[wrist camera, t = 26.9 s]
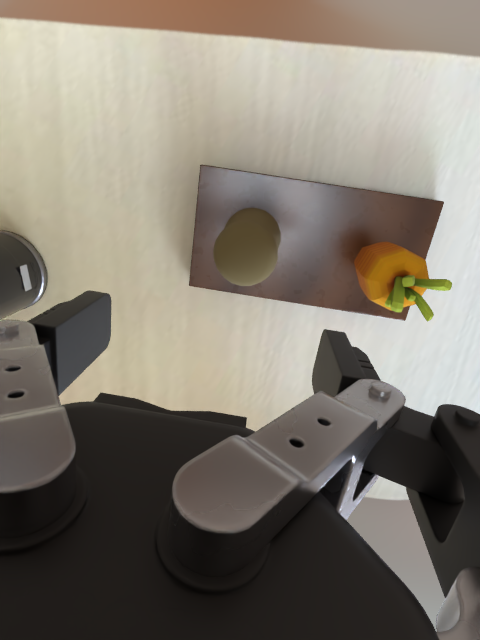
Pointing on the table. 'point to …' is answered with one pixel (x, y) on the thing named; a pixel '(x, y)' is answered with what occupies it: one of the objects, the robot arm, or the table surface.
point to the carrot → (395, 277)
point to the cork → (247, 247)
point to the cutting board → (309, 235)
